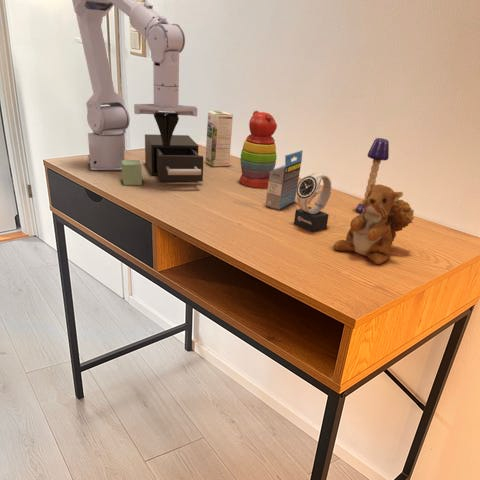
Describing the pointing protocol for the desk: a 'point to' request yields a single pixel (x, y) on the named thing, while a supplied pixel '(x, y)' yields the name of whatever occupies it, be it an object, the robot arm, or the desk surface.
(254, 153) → the stacking bear
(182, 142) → the small drawer cabinet
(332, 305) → the desk surface
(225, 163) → the syrup box
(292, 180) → the label tape box
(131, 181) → the block
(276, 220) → the desk surface
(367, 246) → the stuffed squirrel
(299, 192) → the watch
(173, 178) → the black drawer
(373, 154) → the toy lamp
